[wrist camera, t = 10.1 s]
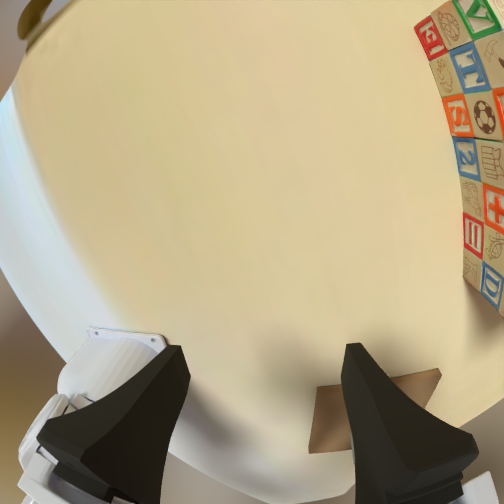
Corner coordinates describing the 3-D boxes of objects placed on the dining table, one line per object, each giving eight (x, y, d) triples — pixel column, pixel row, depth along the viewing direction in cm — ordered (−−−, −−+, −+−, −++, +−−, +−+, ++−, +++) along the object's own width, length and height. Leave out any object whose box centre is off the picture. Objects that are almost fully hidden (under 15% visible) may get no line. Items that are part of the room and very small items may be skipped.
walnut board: (308, 446, 29) (308, 453, 28) (317, 386, 24) (318, 395, 23) (403, 432, 27) (405, 438, 26) (438, 368, 22) (442, 375, 21)
